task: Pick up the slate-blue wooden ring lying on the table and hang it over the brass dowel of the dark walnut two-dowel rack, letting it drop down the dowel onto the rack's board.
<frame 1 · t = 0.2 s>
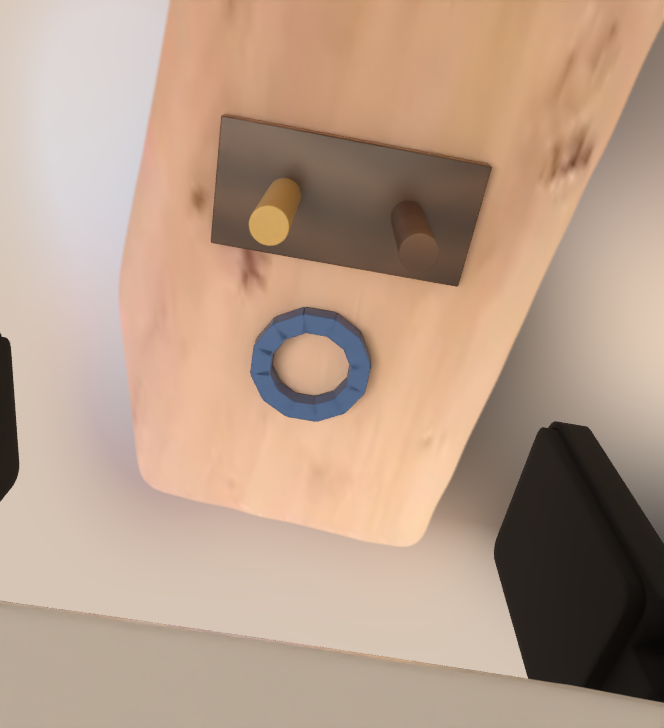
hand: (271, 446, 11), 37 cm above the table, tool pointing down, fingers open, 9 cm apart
ring: (311, 361, 51), on the table
rack: (346, 202, 45), on the table
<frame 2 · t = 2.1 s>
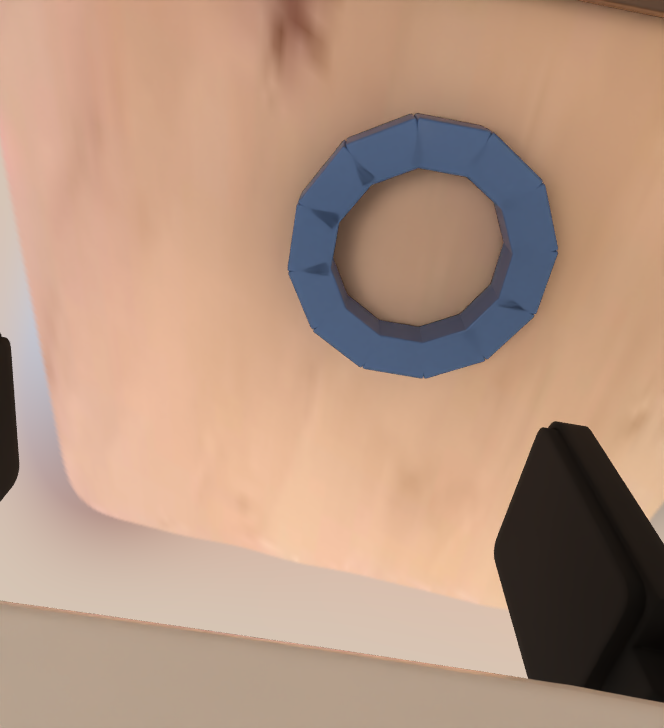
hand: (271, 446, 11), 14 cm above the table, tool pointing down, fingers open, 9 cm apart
ring: (417, 248, 24), on the table
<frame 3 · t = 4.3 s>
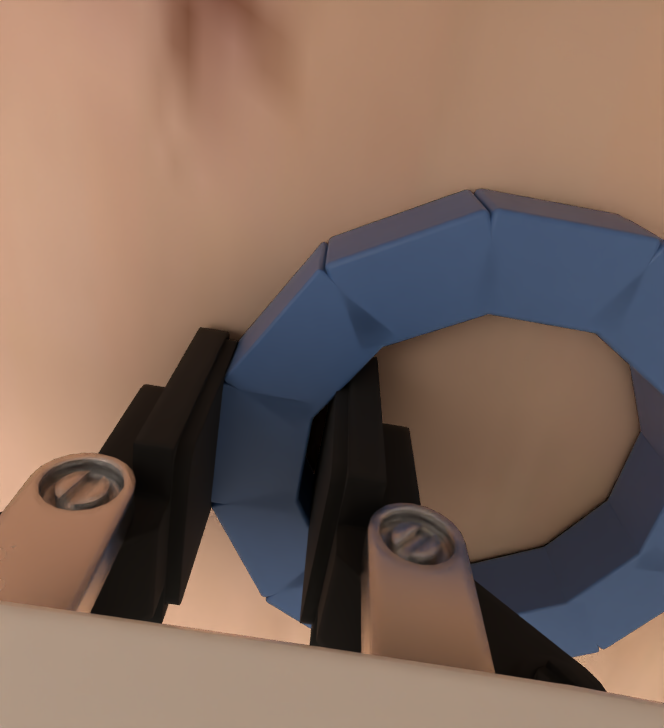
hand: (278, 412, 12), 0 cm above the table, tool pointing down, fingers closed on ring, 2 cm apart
ring: (468, 440, 12), on the table, touching gripper
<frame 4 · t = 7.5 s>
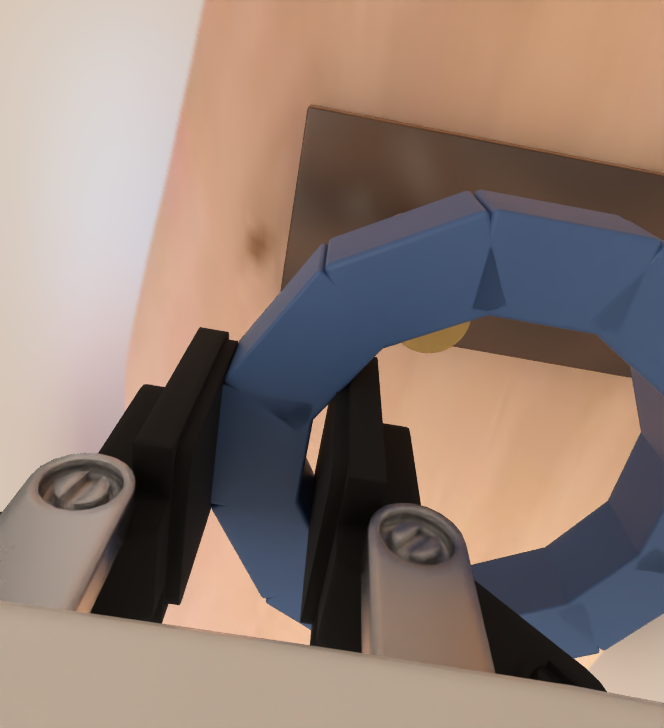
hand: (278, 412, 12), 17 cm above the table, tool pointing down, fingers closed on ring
ring: (468, 441, 12), point 17 cm above the table, touching gripper
rack: (501, 251, 27), on the table
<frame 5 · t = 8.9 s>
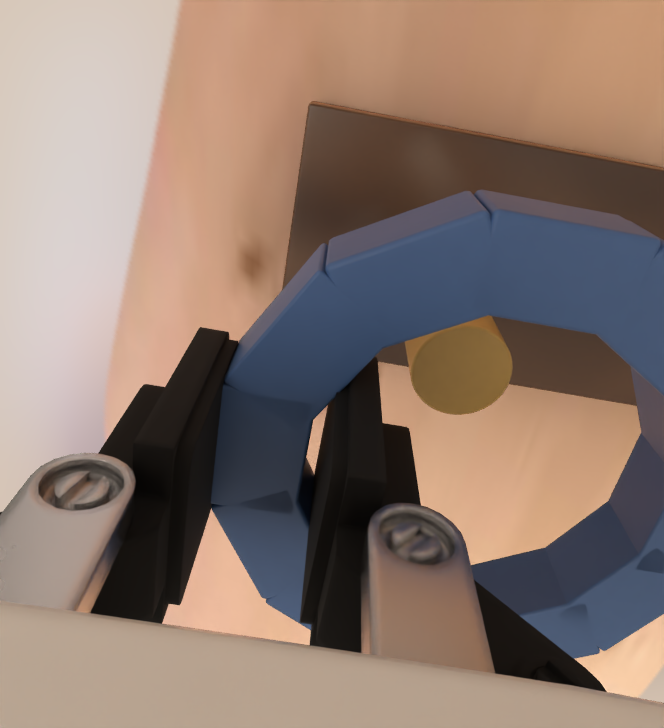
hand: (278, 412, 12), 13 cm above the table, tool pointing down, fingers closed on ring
ring: (469, 441, 12), point 13 cm above the table, touching gripper
rack: (533, 270, 24), on the table
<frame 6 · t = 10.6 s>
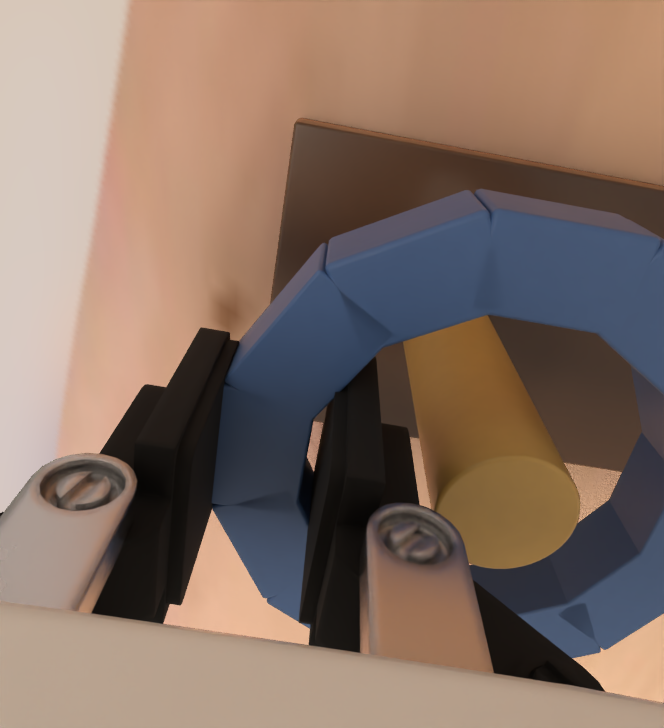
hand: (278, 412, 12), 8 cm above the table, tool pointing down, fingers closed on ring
ring: (469, 440, 12), point 8 cm above the table, touching gripper
rack: (572, 322, 19), on the table
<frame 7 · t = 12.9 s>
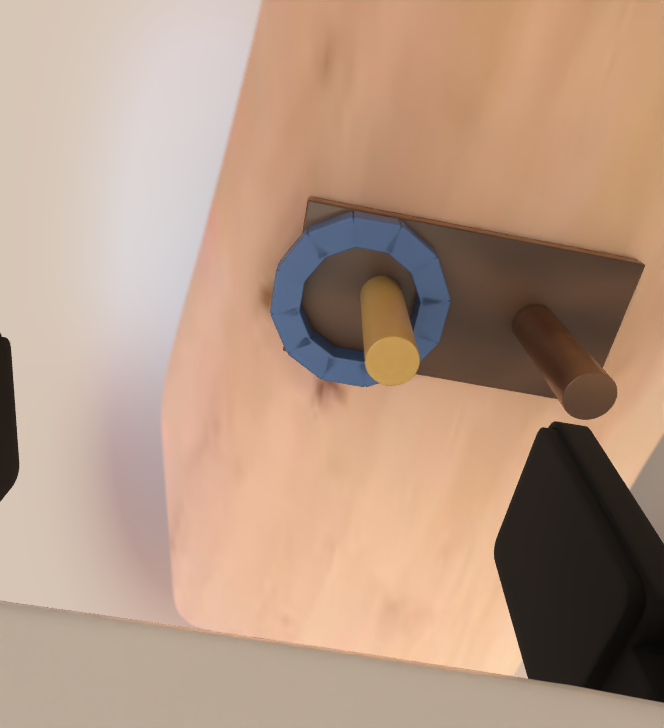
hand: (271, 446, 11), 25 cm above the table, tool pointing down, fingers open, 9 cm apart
ring: (359, 297, 35), point 1 cm above the table, touching rack
rack: (454, 302, 36), on the table
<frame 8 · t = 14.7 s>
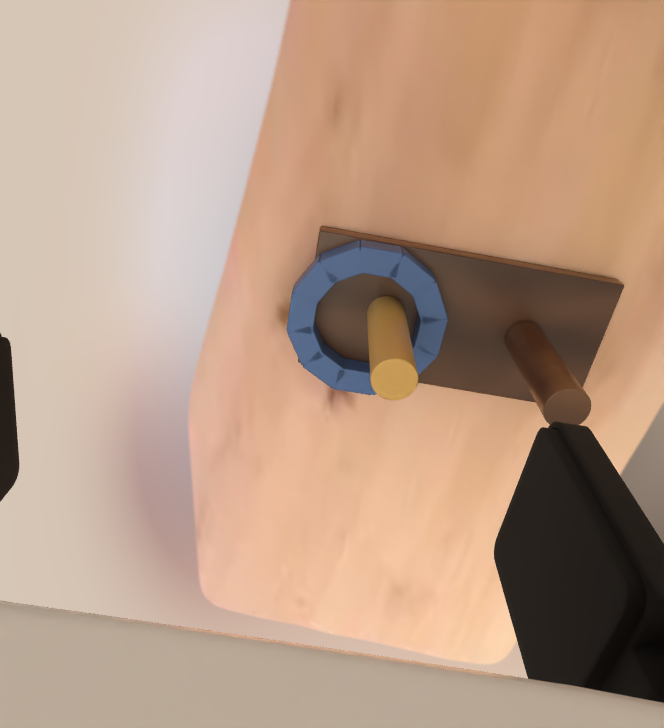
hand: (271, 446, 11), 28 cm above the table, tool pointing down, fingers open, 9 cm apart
ring: (366, 315, 39), point 1 cm above the table, touching rack
rack: (452, 318, 40), on the table
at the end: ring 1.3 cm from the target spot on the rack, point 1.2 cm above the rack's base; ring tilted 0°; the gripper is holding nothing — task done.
